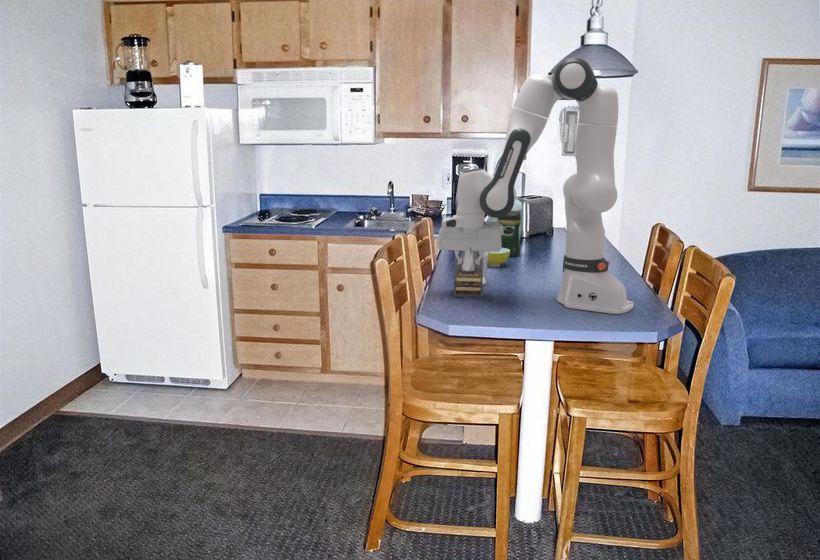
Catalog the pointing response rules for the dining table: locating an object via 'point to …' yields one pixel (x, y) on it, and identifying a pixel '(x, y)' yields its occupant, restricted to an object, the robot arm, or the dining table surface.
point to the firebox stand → (468, 290)
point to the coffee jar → (511, 232)
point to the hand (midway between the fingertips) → (468, 264)
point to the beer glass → (484, 265)
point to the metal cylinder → (468, 265)
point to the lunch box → (516, 207)
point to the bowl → (498, 257)
